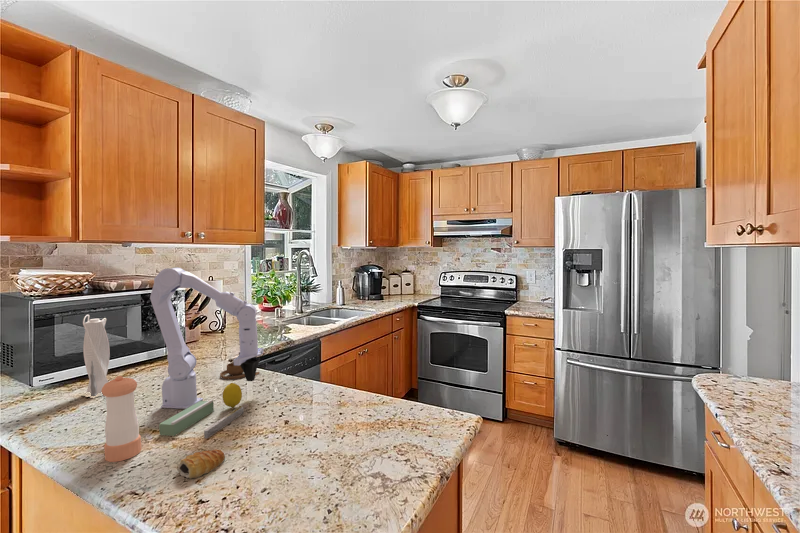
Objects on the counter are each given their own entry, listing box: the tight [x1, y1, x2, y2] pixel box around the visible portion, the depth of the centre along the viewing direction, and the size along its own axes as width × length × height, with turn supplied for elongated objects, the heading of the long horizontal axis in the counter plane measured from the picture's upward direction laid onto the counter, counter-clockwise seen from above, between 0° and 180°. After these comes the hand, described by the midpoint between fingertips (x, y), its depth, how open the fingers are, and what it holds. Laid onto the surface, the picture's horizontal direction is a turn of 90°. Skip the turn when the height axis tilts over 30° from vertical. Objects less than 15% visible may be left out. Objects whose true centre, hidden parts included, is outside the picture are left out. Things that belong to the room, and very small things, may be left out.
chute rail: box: [203, 405, 244, 439], centre depth 110 cm, size 1×16×2 cm, turn 170°
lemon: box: [222, 382, 243, 409], centre depth 122 cm, size 6×6×8 cm
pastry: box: [177, 448, 226, 479], centre depth 88 cm, size 9×7×4 cm
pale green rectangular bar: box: [158, 399, 215, 437], centre depth 112 cm, size 4×16×4 cm, turn 169°
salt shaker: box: [101, 375, 142, 463], centre depth 95 cm, size 7×7×19 cm
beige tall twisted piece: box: [82, 314, 111, 396], centre depth 138 cm, size 8×8×28 cm
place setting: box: [219, 351, 260, 380], centre depth 159 cm, size 18×20×6 cm
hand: (250, 380), depth 131 cm, fingers closed
